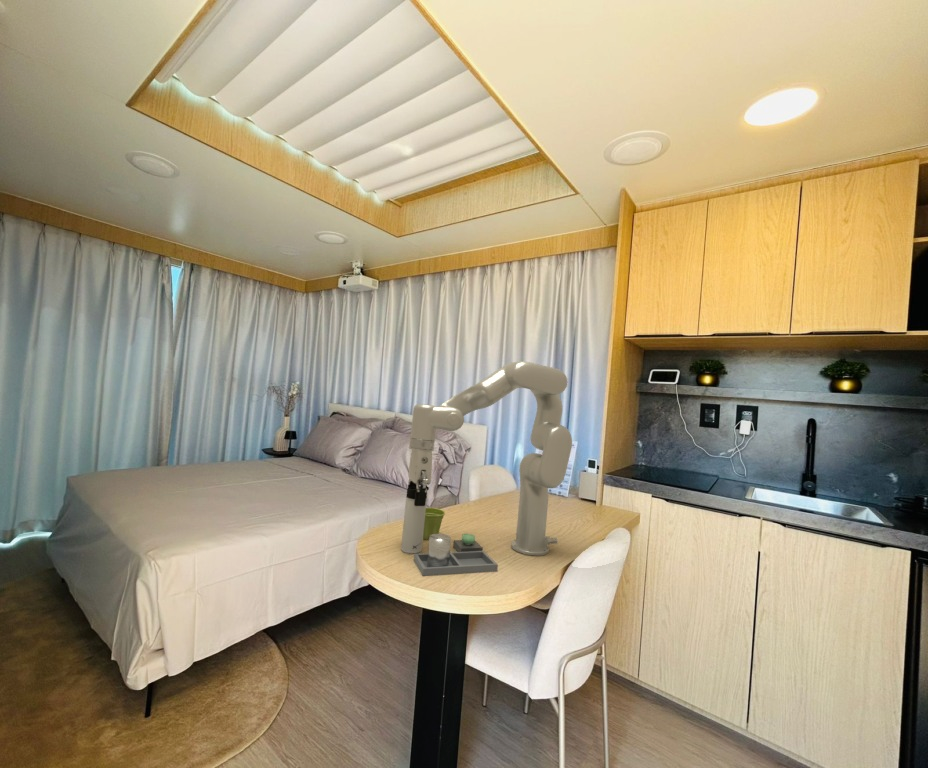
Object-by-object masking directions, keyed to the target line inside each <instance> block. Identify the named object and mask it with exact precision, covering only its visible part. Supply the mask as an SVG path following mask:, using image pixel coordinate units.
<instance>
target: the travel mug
mask: <svg viewBox="0 0 928 768" xmlns="http://www.w3.org/2000/svg"><path fill="white" fill-rule="evenodd" d="M419 488H420V485H419ZM429 488H430V487H429V486H427V491H429V490H430V489H429ZM415 492H417V487H410V488H408V487H407V489H406V497H405V504H404V505H405V507H404V515H403V525H402V538H401V544H400V545H401V546H400V551H401V552H402V553H403V554H406V555H414V554H422V552H423V541H424V539H423V533H424V522H425V512H426V508H427V500H428V497H427V496H428V492H427V493H426V502H425V506H415V505H414V501H415Z"/></svg>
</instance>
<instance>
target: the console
mask: <svg viewBox="0 0 928 768" xmlns="http://www.w3.org/2000/svg"><path fill="white" fill-rule="evenodd" d="M452 548H453V549H454V550H455V552H469V551H484V550H483V549H484V548H483V546H482V545H480V544H479V542H477V541H476V540H475V543H474V544H471V545H465V543H463V542H462V539H455V540H454V539H453V544H452Z"/></svg>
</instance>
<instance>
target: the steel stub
mask: <svg viewBox="0 0 928 768" xmlns="http://www.w3.org/2000/svg"><path fill="white" fill-rule="evenodd" d="M451 545H452V537H451V536H450V535H448V534H444V533H439V534H432V535H430V537H429V540H428V549H427V553H428V558H427V567H443V566H449V556H450V552H451Z"/></svg>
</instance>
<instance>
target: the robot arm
mask: <svg viewBox="0 0 928 768" xmlns="http://www.w3.org/2000/svg"><path fill="white" fill-rule="evenodd" d="M568 383H569V382H568V378H567V375H566V374H565V373H564V371H563V370H561V369H559V368H556V367H553V366H552V367H551V366H546V365H543V364H542V365H541V364H538V363H534V362H530V361H523V360H521V361H515V362H509V363H507V364H505V365H503V366H502V367H500V368H498V369H497V370H496V371H494V372H493V373H491V374H490V375H488V376H487V377H484V378H483V379H482V380H480V381H479V382H477V383H475V384H473V385H472V386H470V387H468V388H466V389H465V390H462V391H461V392H460V393H458V394H456V395H454V396H452V397H450V398H449V399H447V400H445V401H444V402H442V403H441V404H440V405H438V406H436V405H431V404H423V403H419V404H415V405H414V407H413V410H412V420H411V429H410V438H409V447H408V448H409V450H411V451H410V460H409V464H408V465H409V466H408V478H409V480H408V484H407V489H408V488H410V487H417V492H415V501H414V505H415V506H425V502H426V503H427V501H426V493H427V494H428V490H427V487H428V485H430V484H431V482H432V468H433V452H434V450H435V441H436V435H437V434H436V432H437V430H438V429H439V430H442V431H443V430H444V431H446V432H455V431H458V430H459V429H461V427H462V426H463V425H464V423H465V416H467V415H468V414H470V413H472V412H475V411H478V410H482V409H485V408H489V407H491V406H492V405H495V404H496V403H498V402H499V401H500V400H502V399H503V398H504V397H506V396H507V395H509V394H511V393H512V392H513V391H515V390H516V389H518V388H519V389H527V390H530V392H531V393H532V395H534V398H535V402H536V413H535V418H534V420H533V424H532V430H531V433H530V443H531V444H532V446H533V447H534V448H535V449H537V450H539V451H542V453H541V454H540V453H537V452H533V453H532V452H531V453H529V454H528V453H527V454H526V455H525V456H523V458H522V459H521V461H520V464H519V498H518V499H519V500H518V512H517V525H516V533H515V535H516V538H515V539H513V540H512V541H510V547H511V549H512V550H514V551H515V552H518V553H520V554H523V555H528V556H533V557H534V556H536V557H538V556H546V555H547V554H549V553H550V547H549V545H554V544H556V545H557V544H558V538H557V537H550V536H549V535H546V530H547V521H548V520H547V518H548V510H549V509H548V508H549V507H548V506H549V489H556V488H558V487H559V486H560V485H561V484H562V483H563V481H564V480H565V476H566V473H567V469H568V465H569V461H570V456H571V452H572V449H573V448H572V446H573V438H572V434H571V432H570V430H569V429H568V428H567V427H565V426H564V425H562V424H561V421H562V415H563V402H562V399H561V397H560V394H563V392H564V391H566V389H567V387H568ZM419 486H420V488H419Z"/></svg>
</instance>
